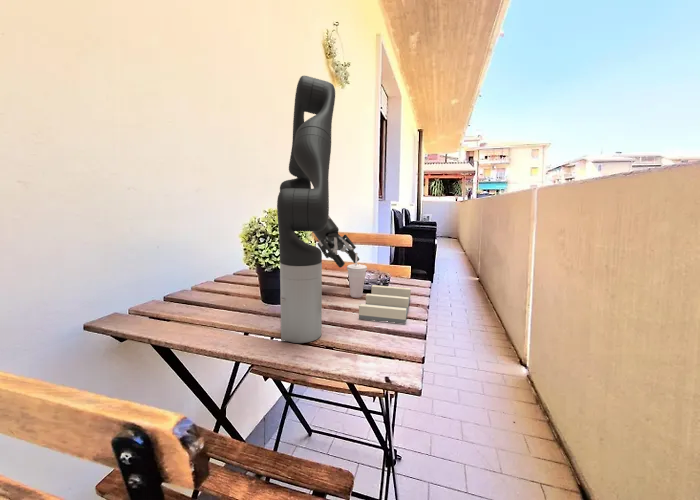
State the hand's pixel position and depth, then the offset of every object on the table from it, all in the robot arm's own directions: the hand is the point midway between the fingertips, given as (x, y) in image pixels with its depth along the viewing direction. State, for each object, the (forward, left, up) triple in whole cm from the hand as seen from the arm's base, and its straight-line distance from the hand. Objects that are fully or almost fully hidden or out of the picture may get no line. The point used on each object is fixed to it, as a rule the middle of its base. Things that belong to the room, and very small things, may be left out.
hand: (350, 263), depth 107 cm
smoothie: (+2, -2, -10) cm, 11 cm away
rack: (+8, -15, -10) cm, 20 cm away
